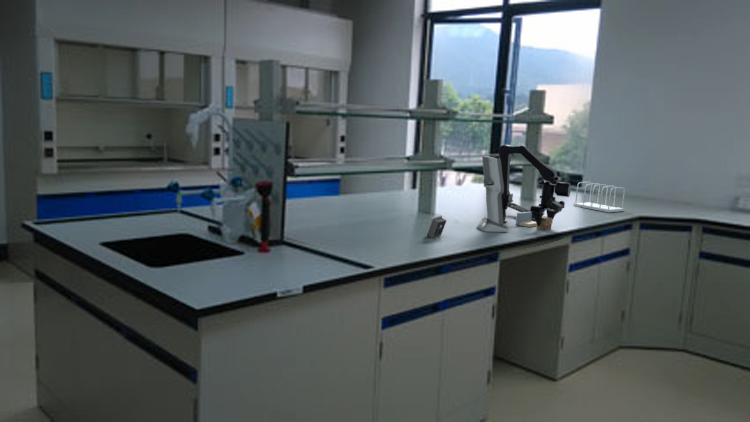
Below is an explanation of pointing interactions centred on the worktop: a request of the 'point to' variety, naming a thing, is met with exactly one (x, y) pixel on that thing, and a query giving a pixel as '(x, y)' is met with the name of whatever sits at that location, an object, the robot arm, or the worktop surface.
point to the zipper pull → (521, 210)
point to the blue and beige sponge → (525, 219)
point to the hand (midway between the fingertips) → (544, 225)
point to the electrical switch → (435, 227)
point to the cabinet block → (545, 223)
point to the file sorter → (599, 206)
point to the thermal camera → (493, 196)
